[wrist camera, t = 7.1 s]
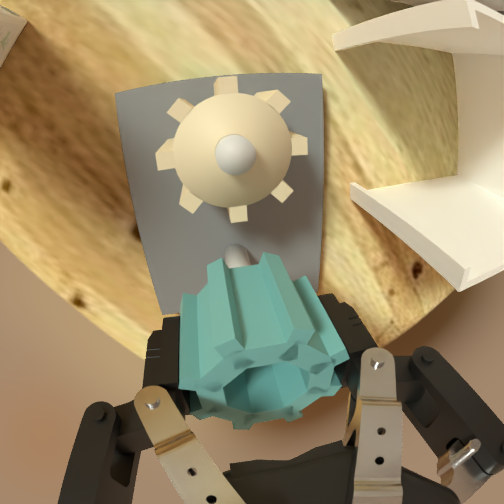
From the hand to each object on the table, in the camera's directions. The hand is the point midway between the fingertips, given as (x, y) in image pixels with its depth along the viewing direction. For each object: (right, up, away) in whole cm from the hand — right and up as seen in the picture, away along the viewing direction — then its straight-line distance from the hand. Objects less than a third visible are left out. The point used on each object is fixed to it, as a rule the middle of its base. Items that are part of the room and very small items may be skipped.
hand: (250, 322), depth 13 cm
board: (-1, +6, +5) cm, 8 cm away
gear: (0, 0, +1) cm, 1 cm away
